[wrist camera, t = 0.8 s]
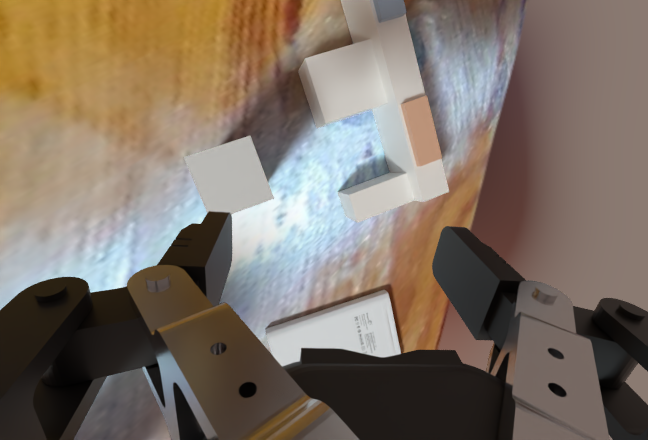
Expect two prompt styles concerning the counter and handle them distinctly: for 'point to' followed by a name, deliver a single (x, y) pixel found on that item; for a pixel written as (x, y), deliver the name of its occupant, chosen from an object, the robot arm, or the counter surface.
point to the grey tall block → (229, 176)
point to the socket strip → (379, 105)
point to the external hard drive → (339, 330)
